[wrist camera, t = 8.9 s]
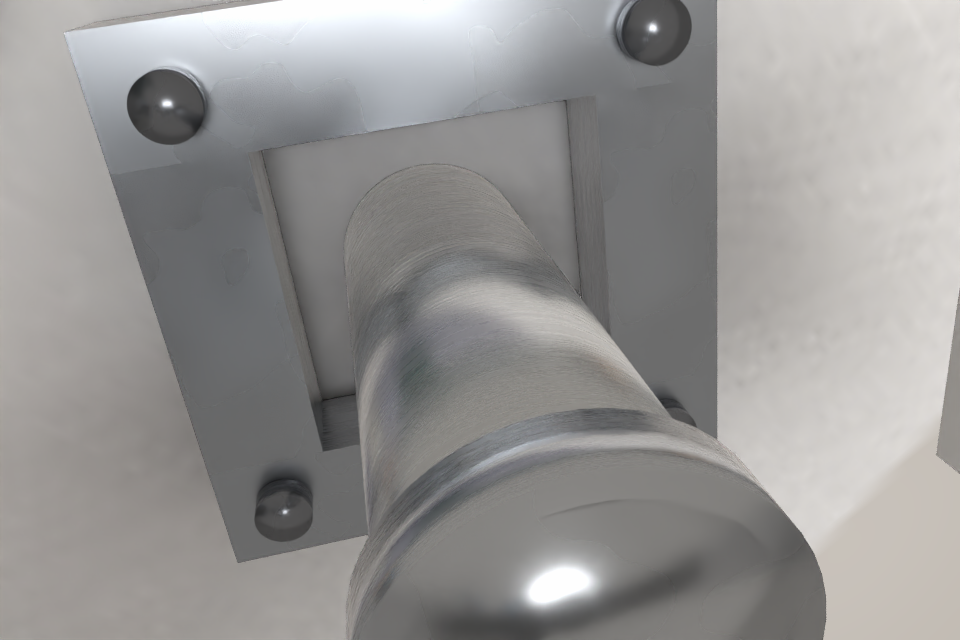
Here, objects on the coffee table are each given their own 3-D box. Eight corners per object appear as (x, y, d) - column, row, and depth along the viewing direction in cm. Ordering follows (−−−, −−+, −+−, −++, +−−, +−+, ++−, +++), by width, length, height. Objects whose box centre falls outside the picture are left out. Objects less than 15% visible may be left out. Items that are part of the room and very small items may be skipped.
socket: (245, 503, 20) (235, 581, 18) (95, 21, 15) (52, 36, 13) (680, 410, 21) (728, 472, 19) (669, -62, 17) (731, -63, 14)
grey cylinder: (351, 360, 19) (397, 887, 8) (309, 169, 17) (297, 536, 6) (542, 323, 20) (814, 775, 9) (522, 133, 18) (841, 418, 7)
